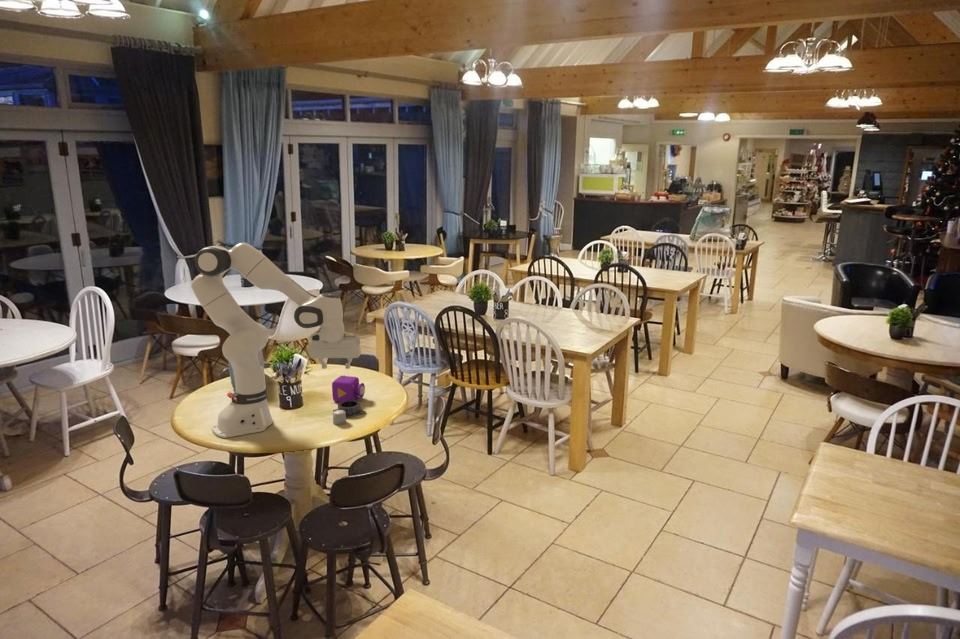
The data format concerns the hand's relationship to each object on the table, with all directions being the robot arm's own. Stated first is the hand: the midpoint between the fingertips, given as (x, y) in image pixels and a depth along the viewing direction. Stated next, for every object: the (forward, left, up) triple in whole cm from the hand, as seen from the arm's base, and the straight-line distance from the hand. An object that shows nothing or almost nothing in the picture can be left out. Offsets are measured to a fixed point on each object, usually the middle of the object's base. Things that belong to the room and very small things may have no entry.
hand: (336, 368), depth 257 cm
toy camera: (+14, +17, -22) cm, 31 cm away
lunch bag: (-13, +68, -22) cm, 73 cm away
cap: (-1, -3, -22) cm, 22 cm away
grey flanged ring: (+7, +4, -22) cm, 23 cm away
